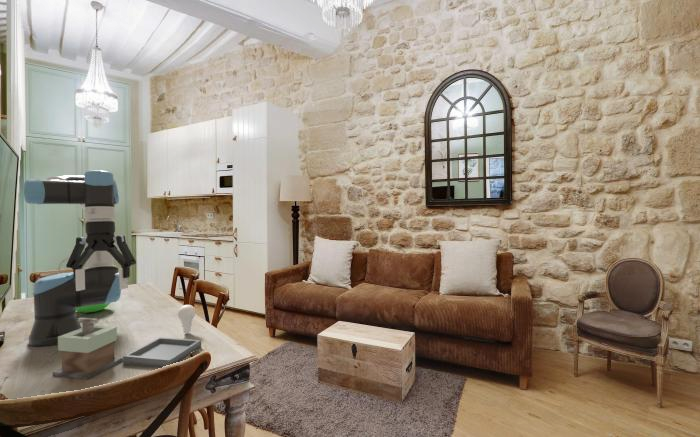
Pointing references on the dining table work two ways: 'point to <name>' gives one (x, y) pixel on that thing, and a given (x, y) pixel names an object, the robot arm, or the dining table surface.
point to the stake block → (87, 357)
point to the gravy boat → (91, 308)
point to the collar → (87, 339)
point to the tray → (162, 352)
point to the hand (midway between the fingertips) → (102, 289)
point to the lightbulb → (186, 317)
